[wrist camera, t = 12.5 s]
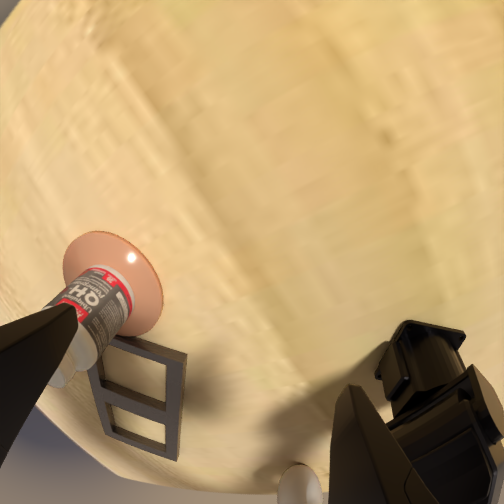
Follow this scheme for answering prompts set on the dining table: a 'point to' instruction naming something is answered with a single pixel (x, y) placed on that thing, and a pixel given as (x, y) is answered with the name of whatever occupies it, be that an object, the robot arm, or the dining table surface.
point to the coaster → (128, 265)
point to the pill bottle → (93, 317)
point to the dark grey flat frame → (143, 397)
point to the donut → (299, 486)
